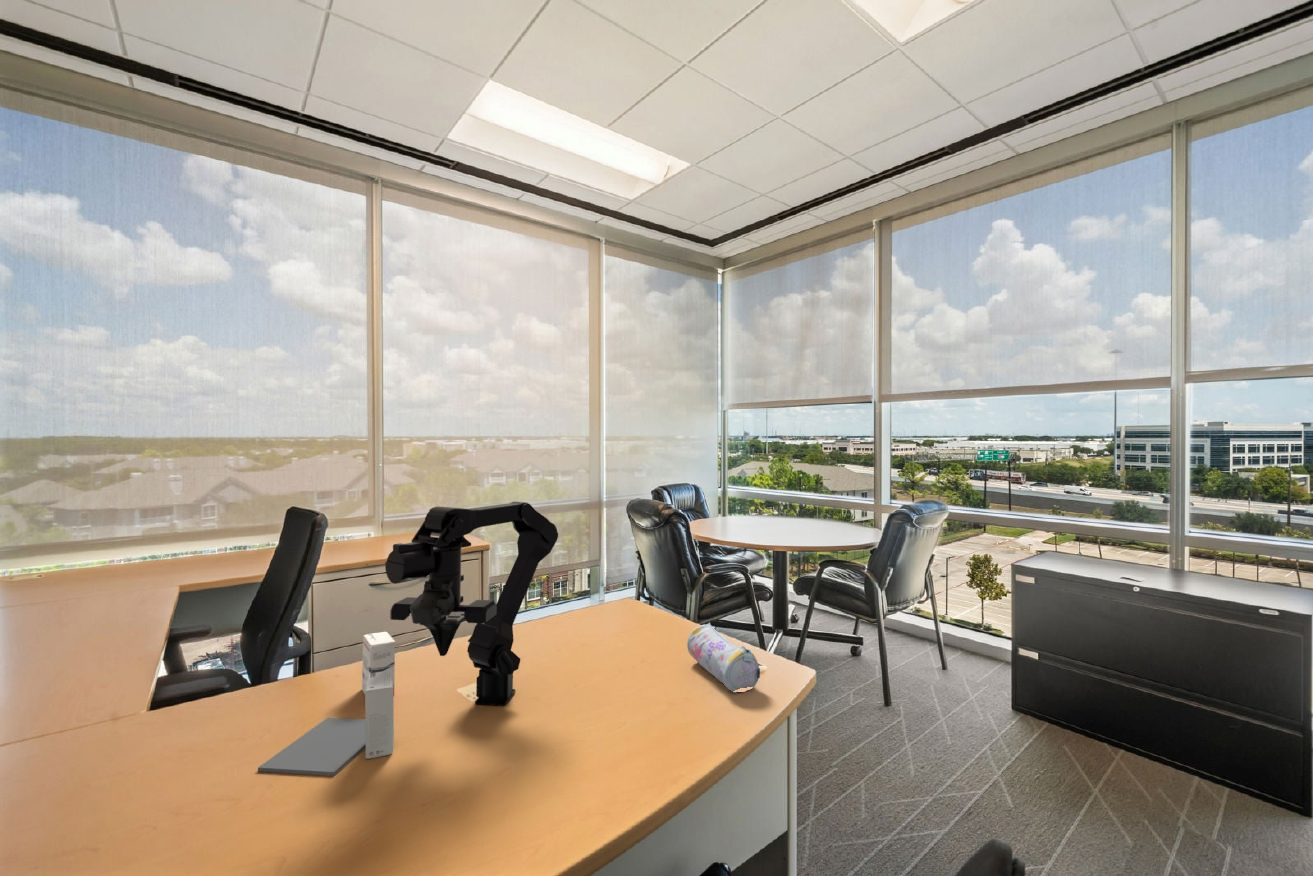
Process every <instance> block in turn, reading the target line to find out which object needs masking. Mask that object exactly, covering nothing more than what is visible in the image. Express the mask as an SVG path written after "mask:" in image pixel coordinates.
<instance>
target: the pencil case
mask: <svg viewBox="0 0 1313 876" xmlns="http://www.w3.org/2000/svg"><path fill="white" fill-rule="evenodd" d="M687 651H688V654H689V655H690V656H691V657H692V659H693V660H695V661H696V662H697V663H698V664H699V665H700V666H702V667H703V668H704V669H705V670H706V671H707V672H708V673H709V674H711V675H712V676H713V675H714V676H715V677H714V676H713V677H714V678H716V679H717V680H718V681H719V682H720V683H721V682H722V683H723V684H724V685H723V684H722V683H721V684H722V685H723V686H725V688H727V690H729V691H730V690H731V691H730V692H732V691H735V690H738V689H740V688H747V687H753V688H755V687H756V685H757V684H758V681H759V679H760V678H761V669H760V666H759V663H758V660H757V658H756V656H755V654H754V653H753V652H752V650H750V649H748V648H746V647H745V645H742V646H741V647H739V646H738V645H734V644H732V643H731V642H730V641H729V640H728V639H727V638H725V636H723V635H722V634H721V633H719V632H718V631H717V630H716V629H715V628H714V627H713V626H712V625H711V624H710V623H707V624H702V625H698V626H697V627H695V628H693V630H692V631H691V632H690V634H689V636H688V637H687Z"/></svg>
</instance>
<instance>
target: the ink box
mask: <svg viewBox="0 0 1313 876" xmlns="http://www.w3.org/2000/svg"><path fill="white" fill-rule="evenodd" d="M362 640H363V641H362V666H361V667H362V668H361V669H362V670H361V674H362V675H361V676H362V677H361V689H362V692H363V694H364V695H365V691H366V682H367V677H368V674H373V673H379V672H385V671H393V690H394V691H395V670H396V669H395V662H396V661H395V659H396V656H395V655H396V653H395V652H396V641H395V640H394V638H393V636H391V635H390V634H389V633H388V632H387V631H381V632H374V633H367V634H364V635H362Z"/></svg>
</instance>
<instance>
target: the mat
mask: <svg viewBox="0 0 1313 876" xmlns="http://www.w3.org/2000/svg"><path fill="white" fill-rule="evenodd" d="M364 750H365V719H364V718H363V719H362V718H361V719H360V718H357V719H356V718H341V717H340V718H339V717H326V718H325V719H324V720H322V721H321V722H319V723H318V724H317V725H315V726H314V727H313V728H311V729H310V730H308V731H307V732H305V733H304V734H303V735H301V736H300V737H299V738H297V739H296V740H294V741H293V742H291V743H290V744H289V745H288V746H286V747H285V748H283V749H281V750H280V751H279V752H278V753H276V754H275V755H273V756H272V757H270V758H269V759H268V760H266V761H265V762H264V763H262V764H261V765H259V766H258V767H257V772H261V773H263V772H264V773H280V774H281V773H282V774H293V775H294V774H295V775H296V774H297V775H298V774H299V775H312V776H313V775H315V776H327V777H328V776H329V777H335V776H336V775H337V774H338V773H339V772H340V771H341V770H342V769H344V768H345V767H346V766H347V765H348V764H349V763H350V762H352V761H353V760H354V759H355V758H356V757H357V756H358V755H359V754H361V753H362V752H363V751H364Z"/></svg>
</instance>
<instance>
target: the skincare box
mask: <svg viewBox="0 0 1313 876" xmlns="http://www.w3.org/2000/svg"><path fill="white" fill-rule="evenodd" d="M364 697H365V698H364V699H365V701H364V703H365V704H364V705H365V708H364V710H365V712H364V713H365V719H364V720H365V749H364V750H365V759H367V760H368V759H376V758H380V757H381V758H382V757H384V756H389V755H392V754H393V753H394V748H395V747H394V746H395V713H394V711H395V709H394V708H395V707H394V706H395V703H394V700H395V699H394V698H395V689H394V690H393V671H385V672H379V673H373V674H368V677H367V682H366V691H365V694H364Z"/></svg>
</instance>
